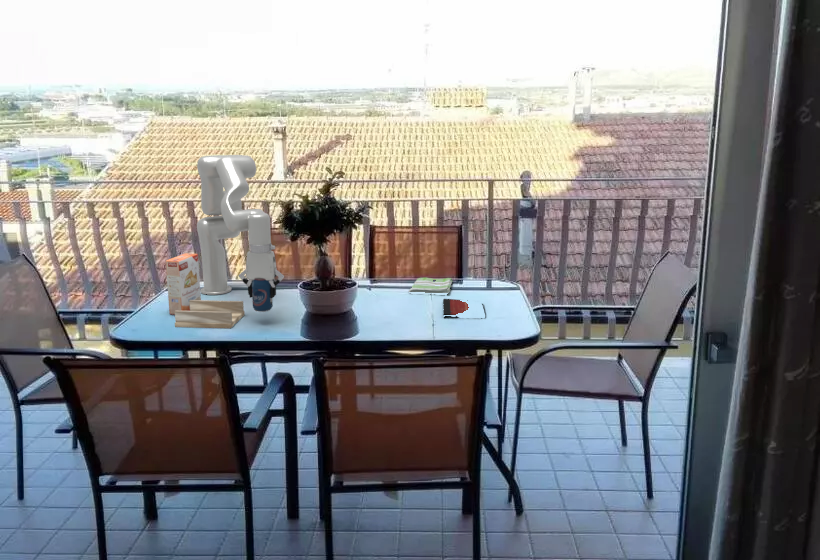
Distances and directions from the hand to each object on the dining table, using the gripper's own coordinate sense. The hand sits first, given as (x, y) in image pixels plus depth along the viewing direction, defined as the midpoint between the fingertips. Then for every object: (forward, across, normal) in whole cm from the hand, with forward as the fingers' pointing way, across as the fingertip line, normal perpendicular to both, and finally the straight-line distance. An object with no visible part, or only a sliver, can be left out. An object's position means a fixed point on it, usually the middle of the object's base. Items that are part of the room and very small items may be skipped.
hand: (262, 296), depth 232 cm
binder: (+10, -72, -20) cm, 76 cm away
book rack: (+10, +19, 0) cm, 22 cm away
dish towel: (+11, -59, -52) cm, 79 cm away
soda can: (+5, 0, 0) cm, 5 cm away
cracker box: (+11, +33, -12) cm, 37 cm away
